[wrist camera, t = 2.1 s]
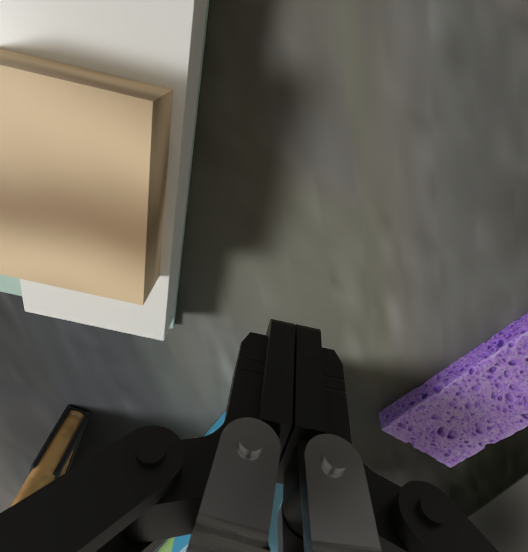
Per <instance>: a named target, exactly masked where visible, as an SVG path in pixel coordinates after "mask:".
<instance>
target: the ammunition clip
mask: <svg viewBox="0 0 528 552" xmlns="http://www.w3.org/2000/svg"><path fill="white" fill-rule="evenodd" d="M90 414H91V413H89V412H86V411H83V410H80V409H78V408H75V407H72V406H69V405H67V407H66V409H65V410H64V412H63V414H62V415H61V417H60V419H59V420H58V422H57V424H56V425H55V427H54V429H53V430H52V432H51V434H50V435H49V437H48V439H47V440H46V442H45V444H44V445H43V447H42V449H41V450H40V452H39V454H38V455H37V457H36V459H35V460H34V462H33V464H32V465H31V469H30V473H29V476H28V477H27V479H26V481H25V482H24V484H23V486H22V487H21V489H20V491H19V493H18V494H17V496H16V498H15V499H14V501H13V503H12V504H11V506H13V505H15V504H16V503H18V502H20V501H21V500H23V499H24V498H26V497H28V496H29V495H31V494H32V493H34V492H36V491H37V490H39V489H41V488H42V487H44V486H45V485H47V484H49V483H50V482H52V481H53V480H55V479H57V478H58V477H60V476H62V475H63V474H65V473H66V472H68V471H69V470H70V468H71V465H72V462H73V460H74V457H75V454H76V451H77V449H78V446H79V443H80V441H81V438H82V435H83V433H84V430H85V427H86V425H87V422H88V419H89V416H90ZM11 506H10V507H11Z"/></svg>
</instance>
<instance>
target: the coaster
mask: <svg viewBox="0 0 528 552" xmlns="http://www.w3.org/2000/svg"><path fill="white" fill-rule="evenodd" d="M172 100H173V89H170V88H166V87H161V86H157V85H153V84H149V83H145V82H141V81H136V80H132V79H128V78H124V77H120V76H116V75H111V74H107V73H103V72H99V71H95V70H91V69H86V68H82V67H78V66H74V65H70V64H66V63H61V62H57V61H53V60H49V59H45V58H41V57H36V56H32V55H28V54H24V53H20V52H16V51H11V50H7V49H3V48H0V275H5V276H10V277H14V278H19V279H23V280H28V281H33V282H37V283H42V284H46V285H51V286H56V287H60V288H65V289H69V290H74V291H79V292H83V293H88V294H92V295H97V296H102V297H106V298H111V299H115V300H120V301H125V302H129V303H134V304H138V305H144V303H145V301H146V299H147V298H148V296H149V294H150V292H151V290H152V289H153V287H154V285H155V283H156V281H157V280H158V278H159V276H160V264H161V250H162V236H163V223H164V209H165V195H166V182H167V168H168V155H169V141H170V127H171V114H172Z"/></svg>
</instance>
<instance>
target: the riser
mask: <svg viewBox="0 0 528 552" xmlns="http://www.w3.org/2000/svg"><path fill="white" fill-rule="evenodd" d="M206 8H207V0H0V48H3V49H7V50H11V51H16V52H20V53H24V54H28V55H32V56H36V57H41V58H45V59H49V60H53V61H57V62H61V63H66V64H70V65H74V66H78V67H82V68H86V69H91V70H95V71H99V72H103V73H107V74H111V75H116V76H120V77H124V78H128V79H132V80H136V81H141V82H145V83H149V84H153V85H157V86H161V87H166V88H170V89H173V100H172V114H171V127H170V141H169V155H168V168H167V182H166V195H165V209H164V223H163V236H162V250H161V264H160V276H159V278H158V280H157V281H156V283H155V285H154V287H153V289H152V290H151V292H150V294H149V296H148V298H147V299H146V301H145V303H144V305H138V304H134V303H129V302H125V301H120V300H115V299H111V298H106V297H102V296H97V295H92V294H88V293H83V292H79V291H74V290H69V289H65V288H60V287H56V286H51V285H46V284H42V283H37V282H33V281H28V280H23V279H20V285H21V291H22V297H23V303H24V309H25V311H27V312H31V313H36V314H41V315H45V316H50V317H55V318H59V319H64V320H69V321H73V322H78V323H83V324H87V325H92V326H97V327H101V328H106V329H111V330H115V331H120V332H125V333H129V334H134V335H139V336H143V337H148V338H153V339H157V340H162V341H164V339H165V336H166V334H167V332H168V329H169V327H170V325H171V322H172V320H173V318H174V312H175V302H176V293H177V283H178V274H179V264H180V255H181V245H182V236H183V226H184V217H185V207H186V198H187V188H188V179H189V169H190V160H191V150H192V141H193V131H194V122H195V112H196V103H197V93H198V84H199V74H200V65H201V55H202V46H203V36H204V27H205V17H206Z"/></svg>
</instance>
